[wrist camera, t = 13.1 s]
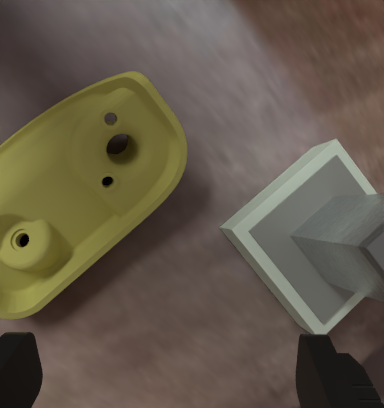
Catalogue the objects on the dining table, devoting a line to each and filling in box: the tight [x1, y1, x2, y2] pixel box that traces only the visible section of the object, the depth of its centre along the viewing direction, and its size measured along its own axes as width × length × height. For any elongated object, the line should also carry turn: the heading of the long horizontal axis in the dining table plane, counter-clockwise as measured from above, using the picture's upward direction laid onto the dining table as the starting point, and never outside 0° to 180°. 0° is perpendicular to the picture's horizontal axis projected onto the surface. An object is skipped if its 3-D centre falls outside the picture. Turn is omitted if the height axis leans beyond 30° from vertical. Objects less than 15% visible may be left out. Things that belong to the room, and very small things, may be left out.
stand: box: [219, 139, 377, 334], centre depth 31 cm, size 12×12×4 cm
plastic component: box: [0, 71, 187, 319], centre depth 28 cm, size 20×7×10 cm
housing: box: [290, 194, 384, 303], centre depth 24 cm, size 5×5×11 cm
